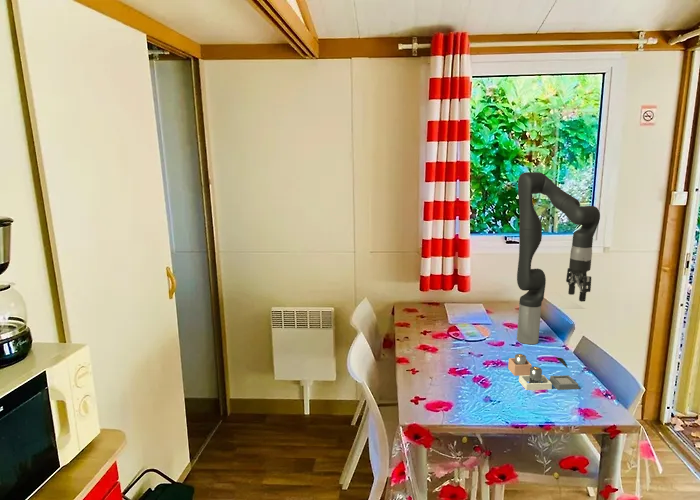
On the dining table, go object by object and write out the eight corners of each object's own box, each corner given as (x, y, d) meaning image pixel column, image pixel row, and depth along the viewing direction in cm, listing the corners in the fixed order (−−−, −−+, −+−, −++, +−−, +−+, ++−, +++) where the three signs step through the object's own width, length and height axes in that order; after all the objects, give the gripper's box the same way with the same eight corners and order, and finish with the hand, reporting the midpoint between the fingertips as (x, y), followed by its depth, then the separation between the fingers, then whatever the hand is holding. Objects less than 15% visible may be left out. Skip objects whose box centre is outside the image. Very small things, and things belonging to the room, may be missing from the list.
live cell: (527, 383, 180) (528, 365, 179) (537, 382, 181) (539, 365, 179) (531, 388, 176) (533, 370, 175) (542, 388, 177) (544, 369, 175)
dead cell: (512, 369, 191) (513, 352, 189) (522, 369, 191) (523, 352, 190) (516, 374, 187) (517, 357, 186) (526, 373, 187) (527, 356, 186)
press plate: (554, 380, 180) (554, 378, 180) (566, 380, 181) (567, 377, 181) (560, 386, 176) (560, 383, 176) (573, 386, 176) (573, 383, 176)
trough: (518, 383, 182) (519, 375, 181) (542, 382, 182) (543, 374, 182) (526, 392, 175) (526, 384, 174) (551, 391, 176) (552, 383, 175)
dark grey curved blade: (562, 357, 201) (569, 373, 187) (562, 360, 202) (569, 376, 187) (542, 356, 203) (547, 371, 189) (542, 358, 204) (547, 374, 189)
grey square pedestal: (548, 382, 182) (548, 375, 181) (569, 382, 182) (569, 375, 182) (557, 391, 175) (557, 384, 174) (579, 391, 175) (579, 384, 175)
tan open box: (508, 370, 192) (508, 358, 191) (523, 369, 193) (524, 357, 192) (514, 377, 186) (515, 365, 185) (530, 377, 186) (531, 364, 185)
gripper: (562, 253, 196) (558, 292, 199) (580, 262, 182) (576, 303, 185) (580, 253, 196) (576, 292, 200) (600, 261, 182) (595, 303, 186)
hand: (576, 297), depth 192 cm, fingers open, 8 cm apart
